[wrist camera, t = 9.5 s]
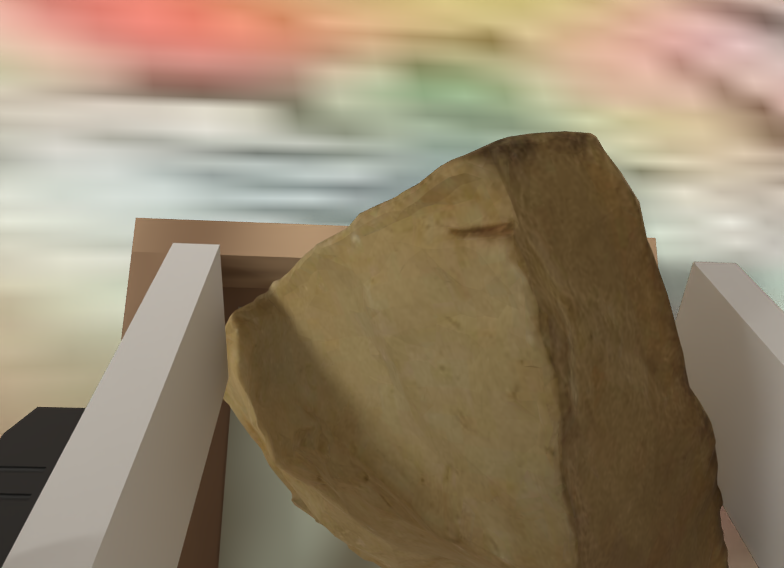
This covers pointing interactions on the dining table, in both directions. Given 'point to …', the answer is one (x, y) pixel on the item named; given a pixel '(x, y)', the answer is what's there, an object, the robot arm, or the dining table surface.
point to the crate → (230, 439)
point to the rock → (486, 375)
